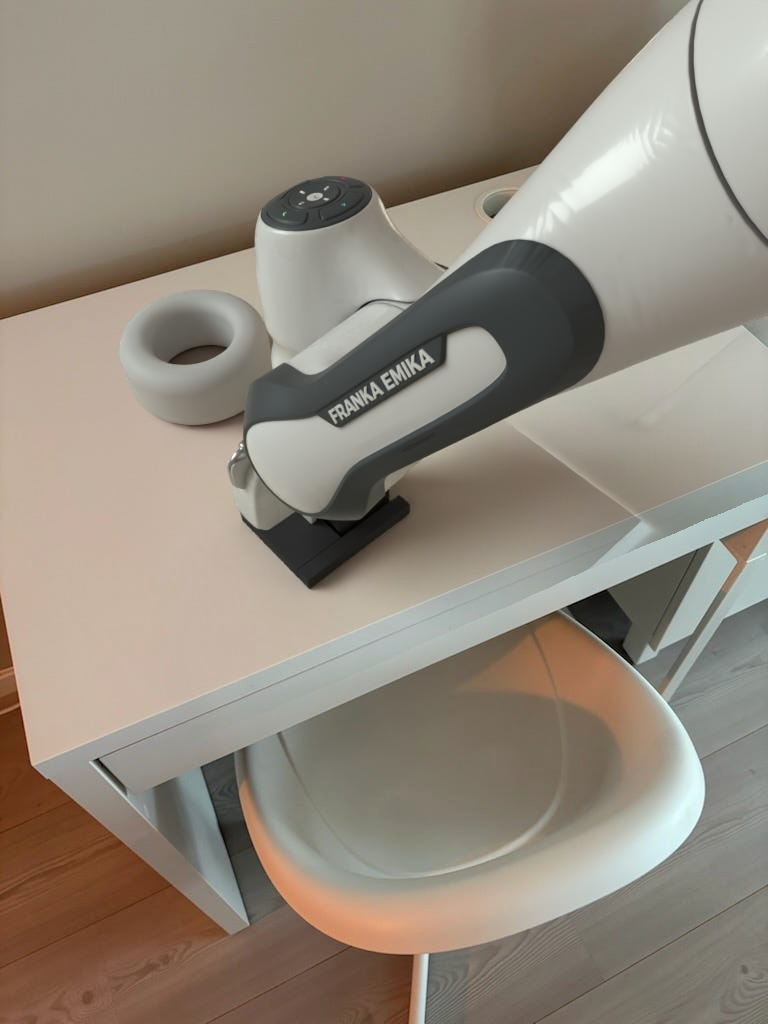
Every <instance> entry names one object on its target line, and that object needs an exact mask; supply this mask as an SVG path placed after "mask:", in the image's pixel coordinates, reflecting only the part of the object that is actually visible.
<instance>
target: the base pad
mask: <svg viewBox="0 0 768 1024" xmlns="http://www.w3.org/2000/svg"><path fill="white" fill-rule="evenodd" d="M239 513H240V512H239ZM409 514H411V504H410V502H408V501H407V500H406V499H405V498H404V497H402V496H401V495H400V494H398V495H397V496H395V497H394V498H393V499H392V500H389V503H387V504H386V505H385V506H383V507H382V508H381V509H379V510H378V511H377V512H375V513H374V514H373V515H371V516H370V517H369V518H367V519H366V520H364V521H363V522H362V523H360V524H359V525H358V526H356V527H355V528H354V529H352V530H351V531H350V532H348V533H347V534H346V535H344V536H343V537H342V538H341V537H340V536H339V535H338V534H337V533H336V532H335V531H334V530H333V529H332V528H331V527H330V526H328V525H327V524H326V523H325V522H324V521H323V520H322V519H318V520H317V521H315V522H314V523H313V524H311V523H309V522H308V521H307V520H306V519H305V518H304V517H303V516H302V514H300V513H297V512H294V513H292V514H291V515H290V516H288V517H287V518H285V519H284V520H282V521H281V522H280V523H278V524H277V525H275V526H274V527H272V528H271V529H269V530H262V529H258V528H256V527H254V526H253V525H252V524H251V523H250V522H249V521H248V520H247V519H246V518H245V517H244V516H243V515H242V514H241V513H240V518H241V520H242V522H243V523H244V524H245V525H246V526H247V527H248V528H249V529H250V530H251V531H252V532H253V533H254V535H256V536H257V538H258V539H260V540H261V541H262V542H263V544H265V546H266V547H267V548H269V550H270V551H271V552H273V554H274V555H275V556H276V557H277V558H278V559H279V560H280V561H281V562H282V563H283V564H284V565H285V566H286V568H288V569H289V570H290V571H291V572H292V574H294V575H295V576H296V577H297V578H298V579H299V580H300V582H302V584H304V586H306V588H307V589H308V590H311V589H312V588H313V587H314V586H316V585H317V584H319V583H320V582H322V581H323V580H324V579H325V578H326V577H328V576H329V575H330V574H332V573H333V572H335V571H336V570H337V569H338V568H340V567H341V566H342V565H343V564H345V563H346V562H348V561H349V560H350V559H352V558H353V557H354V556H356V555H357V554H358V553H360V552H361V551H362V550H363V549H365V548H367V546H369V545H370V544H371V543H373V542H374V541H375V540H377V539H378V538H379V537H381V536H382V535H383V534H385V533H386V532H387V531H388V530H390V529H391V528H392V527H394V526H395V525H396V524H398V523H399V522H400V521H402V520H403V519H404V518H406V517H407V516H408V515H409Z"/></svg>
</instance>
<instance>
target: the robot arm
mask: <svg viewBox="0 0 768 1024" xmlns="http://www.w3.org/2000/svg"><path fill="white" fill-rule="evenodd" d="M254 265H255V276H256V283H257V290H258V292H257V293H258V299H259V303H260V310H261V315H262V319H263V321H264V323H265V326H266V329H267V333H268V335H269V336H270V337H271V339H272V345H271V362H272V368H273V370H271V371H269V372H268V373H266V374H264V375H263V376H261V377H260V378H258V379H256V380H255V381H253V382H252V383H251V385H250V387H249V391H248V395H247V400H246V405H245V410H244V414H243V422H242V440H241V441H240V442H239V443H238V446H237V448H236V450H235V451H234V453H233V454H232V456H231V457H230V458H228V460H227V461H226V471H227V474H228V477H229V480H230V483H231V491H232V497H233V501H234V505H235V507H236V510H237V511H238V512H239V513H241V514H242V515H243V516H244V517H245V518H246V519H247V520H248V521H249V522H250V523H251V524H252V525H253V526H254V527H256V528H258V529H262V530H269V529H271V528H272V527H274V526H275V525H277V524H278V523H280V522H281V521H282V520H284V519H285V518H287V517H288V516H290V515H291V514H292V513H294V512H297V513H300V514H302V516H303V517H304V518H305V519H306V520H307V521H308V522H309V523H311V524H313V523H314V522H315V521H317V520H318V519H326V520H342V521H347V520H359V519H361V518H362V517H363V516H364V515H366V514H367V513H368V512H369V511H370V510H371V509H372V508H373V507H374V506H375V505H376V504H377V503H378V502H379V501H380V500H381V499H382V498H383V497H384V496H385V492H386V491H387V490H388V489H389V490H390V489H391V488H392V487H393V486H394V485H395V484H396V483H398V481H400V480H401V479H402V478H403V477H404V476H406V475H407V473H409V472H410V471H411V470H412V469H413V468H415V466H417V464H419V463H420V462H421V461H422V460H423V459H425V458H427V457H429V456H431V455H433V454H436V453H437V452H439V451H441V450H443V449H447V448H448V447H450V446H452V445H454V444H456V443H458V442H461V441H463V440H464V439H467V438H469V437H471V436H473V435H475V434H477V433H479V432H481V431H483V430H486V429H487V428H490V427H491V426H493V425H496V424H497V423H499V422H501V421H503V420H506V419H507V418H509V417H512V416H513V415H516V414H518V413H520V412H522V411H524V410H526V409H529V408H530V407H533V406H535V405H538V404H540V403H541V402H543V401H546V400H548V399H550V398H553V397H556V396H559V395H561V394H564V393H567V392H570V391H573V390H575V389H578V388H580V387H583V386H585V385H589V384H591V383H594V382H596V381H599V380H601V379H603V378H606V377H608V376H611V375H613V374H616V373H619V372H621V371H623V370H626V369H629V368H631V367H633V366H636V365H638V364H641V363H642V362H645V361H649V360H651V359H653V358H656V357H658V356H661V355H663V354H666V353H669V352H671V351H675V350H677V349H680V348H683V347H686V346H689V345H691V344H694V343H697V342H700V341H703V340H705V339H708V338H711V337H713V336H716V335H719V334H722V333H725V332H728V331H730V330H733V329H736V328H738V327H741V326H745V325H747V324H749V323H752V322H755V321H757V320H760V319H763V318H766V317H768V0H690V1H688V3H687V4H686V5H685V6H683V8H681V9H680V10H679V11H678V12H677V14H675V15H674V16H673V18H671V19H670V20H668V22H667V23H666V24H665V25H664V26H663V27H662V28H661V29H660V30H659V31H658V32H657V33H656V34H655V35H654V36H653V37H652V38H651V39H650V40H649V41H648V43H647V44H645V46H644V47H643V48H642V49H641V50H640V51H639V52H638V53H637V54H636V55H635V56H634V57H633V58H632V59H631V60H630V61H629V63H627V65H626V66H624V68H622V70H621V71H620V72H619V73H618V74H617V75H616V76H615V78H613V79H612V81H610V83H609V84H608V85H607V86H606V87H605V88H604V89H603V91H602V92H601V93H600V94H599V95H598V96H597V97H596V99H595V100H594V101H593V102H592V103H591V104H590V106H588V108H587V109H586V110H585V111H584V113H582V115H581V116H580V117H579V119H577V120H576V122H575V123H574V124H573V125H572V126H571V128H570V129H569V130H568V131H567V132H566V134H565V135H564V136H563V137H562V138H561V139H560V141H558V143H557V144H556V145H555V146H554V148H553V149H552V150H551V152H549V154H547V156H546V157H545V158H544V159H543V161H542V162H541V163H540V164H539V165H538V166H537V167H536V169H535V170H534V171H533V172H532V173H531V175H530V176H528V178H527V179H526V180H525V181H524V182H523V183H522V185H521V186H520V187H519V188H518V189H517V191H516V192H515V193H514V194H513V195H512V196H511V198H510V199H509V200H508V201H507V202H506V203H505V204H504V205H503V206H502V208H501V209H500V210H499V211H498V212H497V213H496V214H495V216H493V218H492V219H491V220H490V221H489V222H488V224H487V225H486V226H485V227H484V228H483V229H482V230H481V231H480V233H479V234H478V235H477V236H476V237H475V238H474V239H473V240H472V241H471V243H470V244H469V245H468V246H467V247H466V248H465V250H464V251H462V253H461V254H460V255H459V256H458V258H457V259H456V260H455V261H454V262H452V264H451V265H450V266H446V265H444V264H442V263H438V262H436V261H434V260H432V259H431V258H429V256H428V255H427V256H426V254H424V253H423V252H422V251H421V250H420V249H419V248H418V247H416V246H415V245H414V244H413V243H412V241H409V240H408V239H407V237H406V236H404V234H403V233H402V232H401V231H400V230H399V229H398V227H397V226H396V225H395V223H394V222H393V220H392V218H391V217H390V215H389V213H388V211H387V209H386V207H385V204H384V203H383V200H382V198H381V197H380V195H379V194H378V192H377V191H376V189H374V187H372V186H371V185H369V184H368V183H366V182H365V181H363V180H360V179H358V178H353V177H348V176H343V175H325V176H322V177H315V178H311V179H306V180H303V181H301V182H299V183H297V184H295V185H292V186H291V187H289V188H287V189H285V190H283V191H282V192H280V193H279V194H277V195H275V196H274V197H273V198H271V199H270V200H268V202H266V204H265V205H264V206H263V207H262V208H261V209H260V211H259V214H258V217H257V220H256V224H255V230H254ZM241 514H240V515H241Z"/></svg>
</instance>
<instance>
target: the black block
mask: <svg viewBox="0 0 768 1024" xmlns="http://www.w3.org/2000/svg"><path fill="white" fill-rule="evenodd" d="M389 502H390V488H389V489H388V490H387V491H386V492H385V496H384V497H383V498H382V499H381V500H380V501H379V502H378V503H377V504H376V505H375V506H374V507H373V508H372V509H371V510H370V511H369V512H368V513H367V514H366V515H364V516H363V517H362V518H361V519H359V520H347V521H342V520H326V519H322V520H323V521H324V522H325V523H326V524H327V525H328V526H330V527H331V528H332V529H333V530H334V531H335V532H336V533H337V534H338V535H339V536H340V537H341V538H342V537H343V536H344V535H346V534H347V533H348V532H350V531H351V530H352V529H354V528H355V527H356V526H358V525H359V524H360V523H362V522H363V521H364V520H366V519H367V518H369V517H370V516H371V515H373V514H374V513H375V512H377V511H378V510H379V509H381V508H382V507H383V506H385V505H386V504H387V503H389Z"/></svg>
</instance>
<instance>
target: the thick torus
mask: <svg viewBox="0 0 768 1024" xmlns="http://www.w3.org/2000/svg"><path fill="white" fill-rule="evenodd" d="M202 346H219V347H224V348H225V350H224V351H222V352H221V353H219V354H218V355H216V356H214V357H212V358H209V359H208V360H205V361H201V362H199V363H197V362H196V363H191V364H175V363H170V361H171V359H173V358H174V357H176V356H177V355H179V354H181V353H183V352H185V351H187V350H191V349H193V348H197V347H202ZM271 351H272V348H271V344H270V339H269V332H268V330H267V328H266V326H265V323H264V320H263V316H261V314H260V312H259V311H258V310H257V309H255V307H254V306H253V305H252V304H250V303H249V302H248V301H246V300H245V299H242V298H241V297H238V296H237V295H234V294H232V293H229V292H225V291H220V290H216V289H215V290H214V289H191V290H190V289H189V290H185V291H184V290H183V291H179V292H175V293H172V294H169V295H166V296H163V297H161V298H159V299H156V300H155V301H153V302H151V303H149V304H148V305H146V306H144V307H143V308H142V309H141V310H139V312H137V313H136V314H135V315H134V316H133V317H132V318H131V320H130V321H129V322H128V323H127V325H126V327H125V329H124V330H123V332H122V335H121V338H120V343H119V349H118V354H119V361H120V364H121V367H122V370H123V372H124V375H125V377H126V380H127V382H128V384H129V387H130V389H131V391H132V394H133V396H134V398H135V399H136V401H137V402H138V404H140V406H141V407H142V408H143V409H144V410H145V411H146V412H148V413H149V414H151V415H152V416H154V417H155V418H157V419H161V420H162V421H164V422H165V421H166V422H169V423H172V424H177V425H186V426H200V425H207V424H214V423H219V422H221V421H225V420H227V419H230V418H232V417H234V416H236V415H238V414H240V413H242V412H243V411H245V405H246V400H247V395H248V391H249V387H250V385H251V383H252V382H253V381H255V380H256V379H258V378H260V377H261V376H263V375H264V374H266V373H268V372H269V371H271V370H273V368H272V362H271Z"/></svg>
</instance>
